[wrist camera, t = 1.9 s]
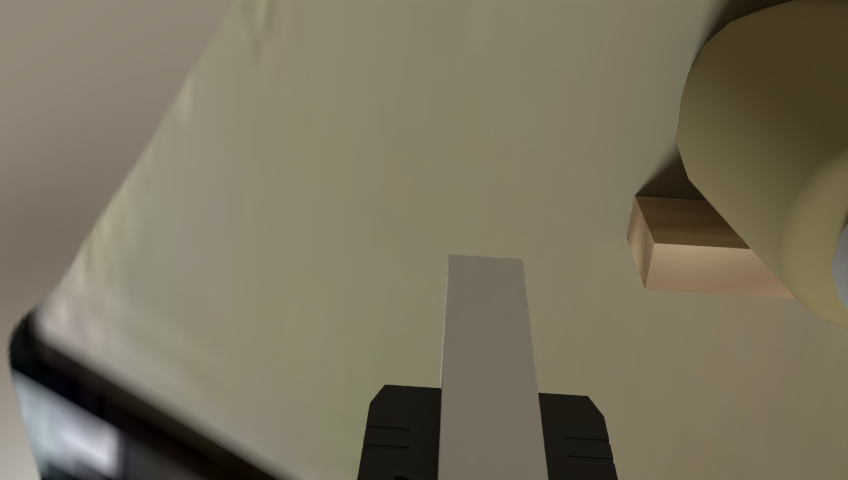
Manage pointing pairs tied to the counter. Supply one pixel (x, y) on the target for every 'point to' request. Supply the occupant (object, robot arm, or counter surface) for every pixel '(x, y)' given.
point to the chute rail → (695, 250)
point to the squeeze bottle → (778, 143)
